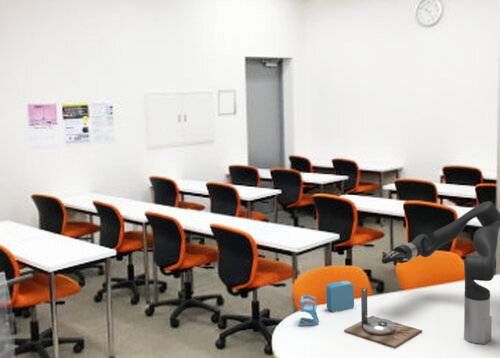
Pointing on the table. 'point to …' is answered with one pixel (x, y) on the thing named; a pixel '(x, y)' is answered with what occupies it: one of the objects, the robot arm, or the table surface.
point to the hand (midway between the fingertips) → (383, 261)
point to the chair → (309, 311)
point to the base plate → (388, 340)
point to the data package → (340, 296)
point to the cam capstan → (375, 320)
